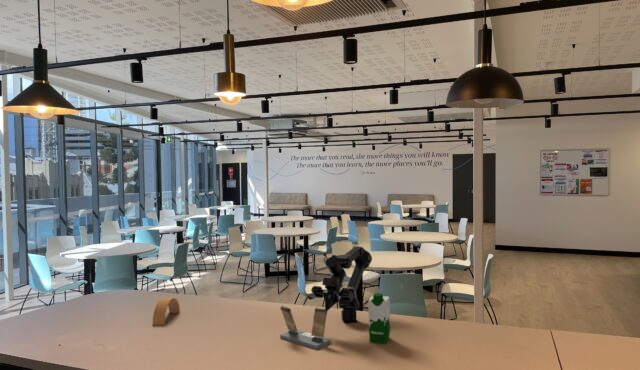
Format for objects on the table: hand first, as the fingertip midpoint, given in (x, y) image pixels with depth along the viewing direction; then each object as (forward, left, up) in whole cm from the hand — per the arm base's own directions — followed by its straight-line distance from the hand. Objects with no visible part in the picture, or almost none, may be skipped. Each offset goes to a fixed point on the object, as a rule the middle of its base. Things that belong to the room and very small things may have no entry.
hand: (326, 310), depth 194 cm
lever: (+14, -3, -9) cm, 17 cm away
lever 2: (+5, +7, -9) cm, 13 cm away
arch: (+74, -43, -12) cm, 87 cm away
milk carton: (-22, +8, -12) cm, 26 cm away
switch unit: (+10, +2, -12) cm, 15 cm away
